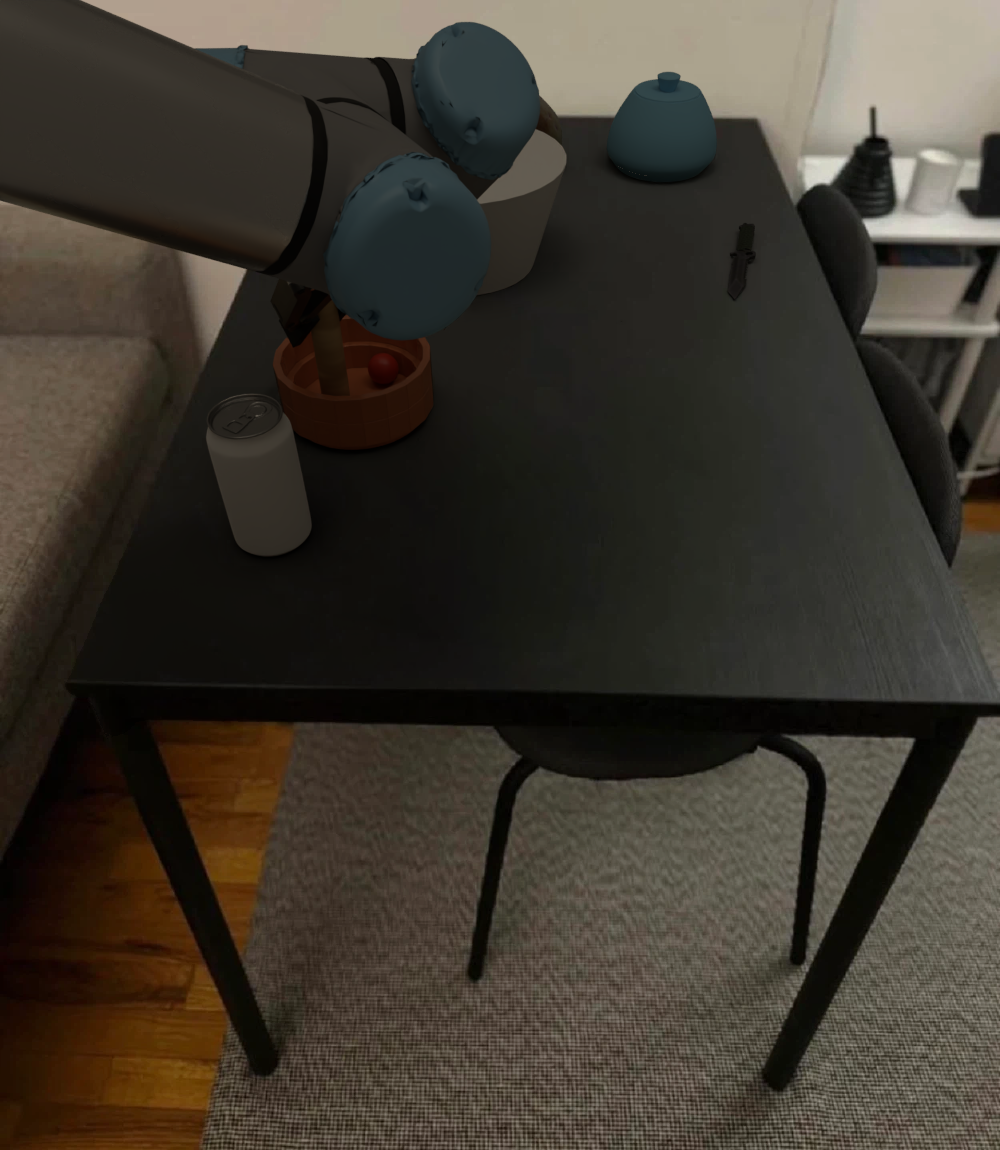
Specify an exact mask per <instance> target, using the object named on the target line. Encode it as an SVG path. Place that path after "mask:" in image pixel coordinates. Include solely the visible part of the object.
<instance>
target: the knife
mask: <svg viewBox="0 0 1000 1150" xmlns="http://www.w3.org/2000/svg"><path fill="white" fill-rule="evenodd" d="M755 228H756V225H755V224H754V223H748V222H743V223H742V224H739V226H738V230H739V233H738V239H737V246H736V251H730V252H729V257H730V258H732V262H731V268H730V274H729V279H728V287H727V292H728V293H729V295H730V296H731V297H732V298H733V299H734V300H736V299H737V298H738V296H739V295H740V294H741V293H742V292H743V290H744V288H745V287H746V285H747V275H748V270H749V269H748V267H749V261H751V260H756V256H757V252H756V251H755V250H752V249H753V244H754V237H755V231H756V230H755Z"/></svg>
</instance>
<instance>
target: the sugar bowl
mask: <svg viewBox="0 0 1000 1150" xmlns="http://www.w3.org/2000/svg"><path fill="white" fill-rule="evenodd" d="M681 77H682V76H681V75H680V74H679V73H678V72H676V71H675V72H674V71H662V72H660V73H658V74H657V78H655V79H648V80H645V81H642V82H640V83H637V84H636V85H635V86H634V87H633V88H632V90H631V91H630V92H629V94H628V95H627V96H626V98H625V99H624V100H623V102H622V103H621V105H620V107H619V109H618V110H617V112H616V113H615V115H614V117H613V121H612V122H611V125H610V128H609V131H608V135H607V140H606V152H607V154H608V156H609V158H610V160H611V162H612V163H613V164H614V166H616V168H617V169H618V170H619V171H620V172H621V173H623V174H624V175H626V176H628V177H630V178H634V179H636V180H641V181H646V182H653V183H673V182H680V181H685V180H686V181H687V180H688V179H692V178H694V177H696V176H698V175H700V173H702V172H703V171H705V169H706V168H707V167H708V166H709V165H710V164H711V163H712V162H713V161H714V159H715V156H716V155H717V147H718V141H717V140H718V139H717V138H718V137H717V128H716V123H715V119H714V115H713V113H712V110H711V109H710V106H709V104H708V101H707V99H706V97H705V95H704V94H703V92H702V90H701V89H700V88H699V87H698V86H697V85H696V84H694V83H692V82H689V81H685V80H681ZM618 166H619V167H618ZM620 167H621V168H620ZM622 168H623V169H622ZM629 171H630V172H629ZM632 172H633V173H632ZM635 173H636V174H635ZM639 174H640V175H639ZM644 175H647V176H644Z"/></svg>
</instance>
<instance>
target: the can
mask: <svg viewBox="0 0 1000 1150" xmlns="http://www.w3.org/2000/svg"><path fill="white" fill-rule="evenodd" d="M206 424H207V430H206V434H205V440H206V446H207V449H208V453H209V457H210V460H211V464H212V467H213V470H214V475H215V477H216V481H217V484H218V488H219V491H220V495H221V498H222V501H223V505H224V508H225V511H226V516H227V518H228V521H229V525H230V528H231V532H232V536H233V538H234V540H235V543H236V544H237V546H238V547H239V548H240V549H241V550H243V551H245V552H247V553H249V554H251V555H253V556H258V557H263V558H265V557H266V558H269V557H270V558H271V557H278V556H282V555H285V554H288V553H291V552H292V551H294V550H296V549H297V548H299V547H300V546H301V545H303V543H304V542H305V541H306V540H307V539H308V537H309V536H310V534H311V532H312V527H313V525H312V524H313V522H312V518H311V517H312V516H311V512H310V506H309V502H308V497H307V491H306V487H305V481H304V476H303V473H302V467H301V462H300V457H299V453H298V449H297V443H296V439H295V434H294V430H293V429H292V426H291V423H290V421H289V419H288V417H287V416H286V415H285V414H284V413H283V409H282V406H281V402H280V401H278V400H277V399H275V398H274V397H272V396H269V395H266V394H262V393H243V394H236V395H232V396H230V397H228V398H227V397H226V398H225V399H223V400H221V401H219V402H218V403H216V404H215V405H214V406H213V407H212V408H211V409H209V411H208V414H207V416H206Z"/></svg>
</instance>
